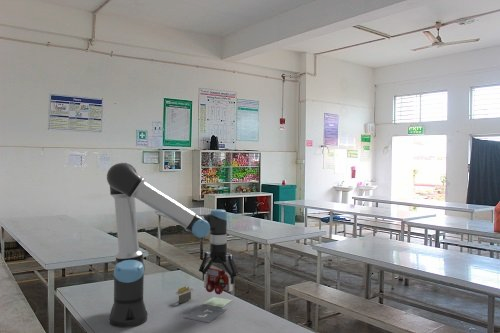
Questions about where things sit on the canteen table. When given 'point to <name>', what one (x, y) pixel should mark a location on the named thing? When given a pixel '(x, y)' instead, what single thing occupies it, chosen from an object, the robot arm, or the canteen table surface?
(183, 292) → the platform
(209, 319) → the tile
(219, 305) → the pad
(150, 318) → the canteen table surface
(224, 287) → the toy fire truck
